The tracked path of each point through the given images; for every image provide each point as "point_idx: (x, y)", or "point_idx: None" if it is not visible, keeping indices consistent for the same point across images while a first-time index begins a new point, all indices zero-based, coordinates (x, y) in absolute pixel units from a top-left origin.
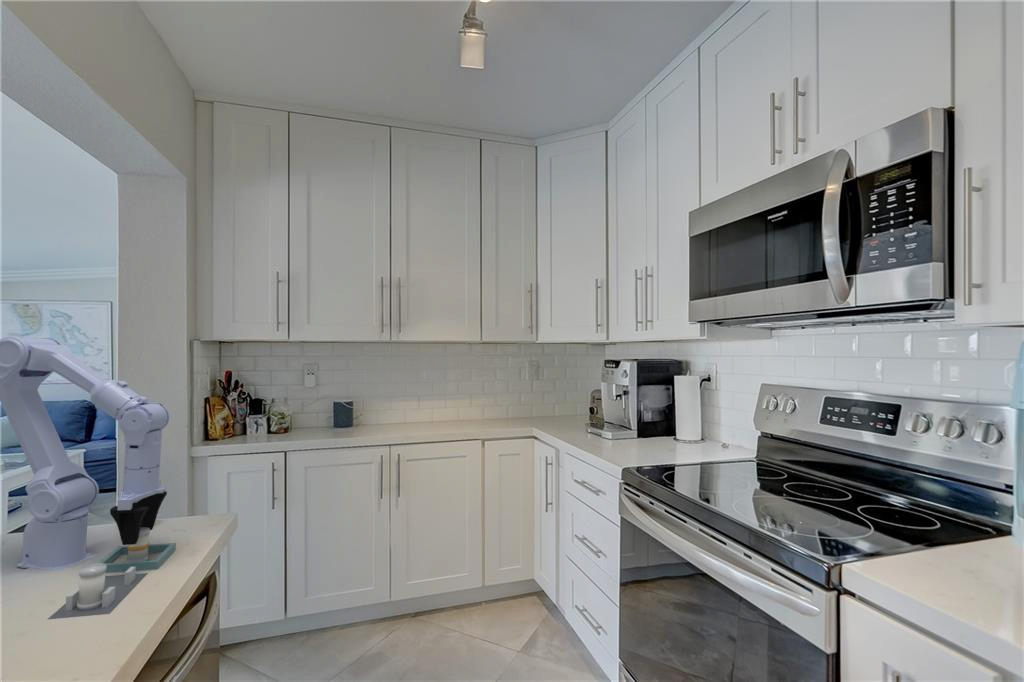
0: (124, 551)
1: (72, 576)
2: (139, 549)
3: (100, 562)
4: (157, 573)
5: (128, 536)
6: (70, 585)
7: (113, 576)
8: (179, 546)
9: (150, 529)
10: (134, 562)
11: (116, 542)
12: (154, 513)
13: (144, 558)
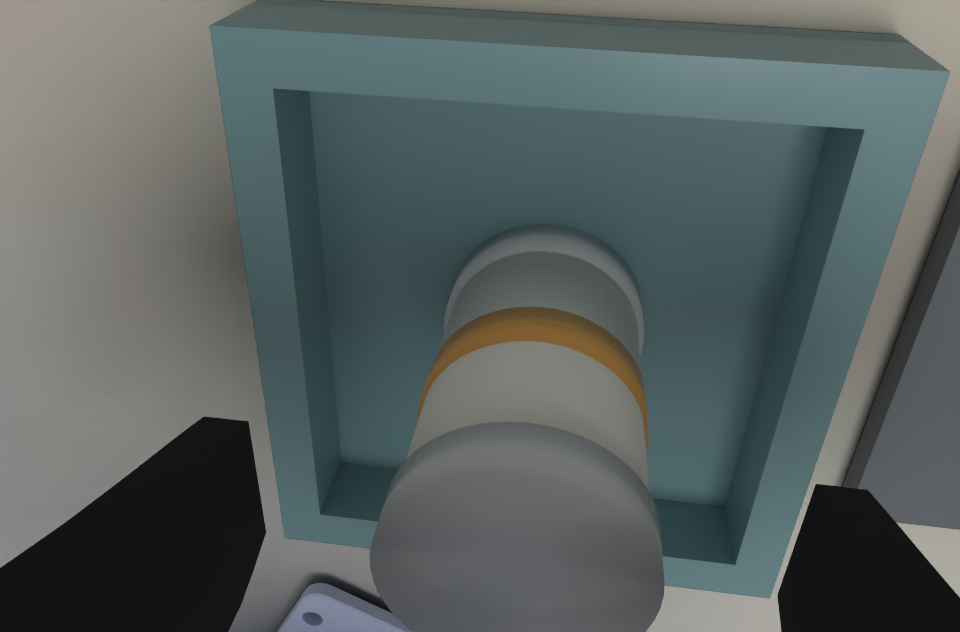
0: (329, 465)
1: (674, 624)
2: (637, 379)
3: (692, 578)
4: (930, 24)
5: None
6: None
7: (915, 410)
8: (52, 6)
9: (248, 437)
10: (836, 330)
11: (12, 534)
12: (90, 619)
13: (603, 266)
